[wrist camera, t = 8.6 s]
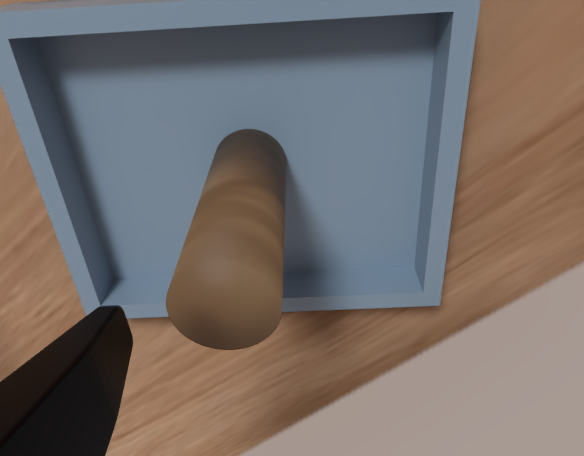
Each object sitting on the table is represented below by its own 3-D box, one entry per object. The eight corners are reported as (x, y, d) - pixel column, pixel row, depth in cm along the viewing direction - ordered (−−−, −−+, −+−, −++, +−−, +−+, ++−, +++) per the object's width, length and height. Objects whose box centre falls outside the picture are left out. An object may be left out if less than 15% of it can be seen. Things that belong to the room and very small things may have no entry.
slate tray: (459, -26, 17) (482, -19, 15) (427, 271, 24) (439, 305, 22) (12, 3, 18) (-26, 13, 15) (105, 285, 24) (87, 320, 22)
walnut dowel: (284, 127, 19) (277, 258, 12) (288, 193, 21) (285, 347, 13) (209, 130, 19) (154, 264, 12) (219, 196, 21) (177, 351, 13)
